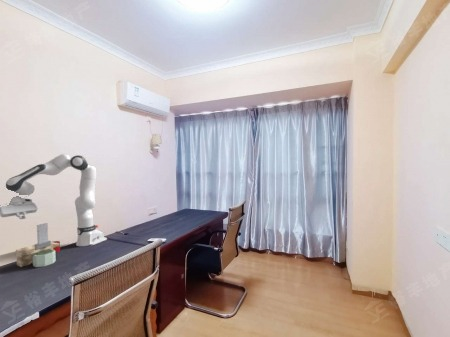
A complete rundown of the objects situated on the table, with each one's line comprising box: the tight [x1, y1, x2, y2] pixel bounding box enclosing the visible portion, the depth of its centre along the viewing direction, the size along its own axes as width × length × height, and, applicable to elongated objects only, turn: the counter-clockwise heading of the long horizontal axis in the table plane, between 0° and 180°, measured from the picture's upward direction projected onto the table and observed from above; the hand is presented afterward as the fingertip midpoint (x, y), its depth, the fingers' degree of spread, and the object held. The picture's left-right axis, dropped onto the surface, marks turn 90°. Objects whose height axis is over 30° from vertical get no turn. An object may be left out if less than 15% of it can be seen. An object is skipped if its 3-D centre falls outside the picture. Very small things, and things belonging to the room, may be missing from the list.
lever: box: [52, 240, 61, 254], centre depth 165 cm, size 18×9×7 cm, turn 169°
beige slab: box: [15, 241, 59, 268], centre depth 151 cm, size 18×14×10 cm
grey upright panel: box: [34, 222, 52, 249], centre depth 148 cm, size 8×2×15 cm, turn 153°
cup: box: [32, 249, 57, 268], centre depth 148 cm, size 11×11×7 cm
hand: (23, 218), depth 160 cm, fingers closed
